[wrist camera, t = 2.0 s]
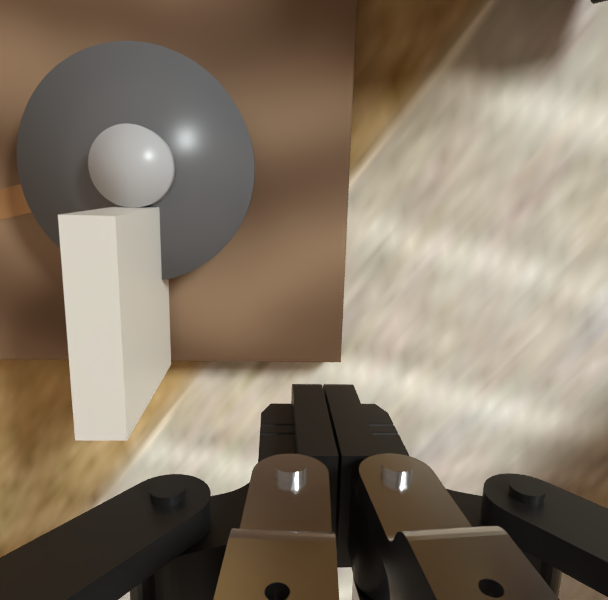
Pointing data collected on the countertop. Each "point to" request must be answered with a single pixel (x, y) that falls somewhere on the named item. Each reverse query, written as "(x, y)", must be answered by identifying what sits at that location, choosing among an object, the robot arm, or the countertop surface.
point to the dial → (130, 208)
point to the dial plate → (268, 172)
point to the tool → (597, 1)
